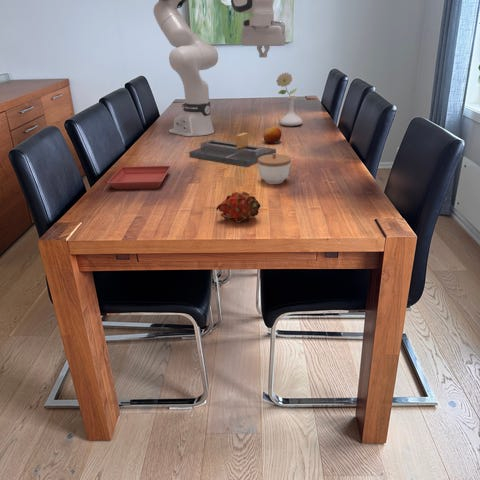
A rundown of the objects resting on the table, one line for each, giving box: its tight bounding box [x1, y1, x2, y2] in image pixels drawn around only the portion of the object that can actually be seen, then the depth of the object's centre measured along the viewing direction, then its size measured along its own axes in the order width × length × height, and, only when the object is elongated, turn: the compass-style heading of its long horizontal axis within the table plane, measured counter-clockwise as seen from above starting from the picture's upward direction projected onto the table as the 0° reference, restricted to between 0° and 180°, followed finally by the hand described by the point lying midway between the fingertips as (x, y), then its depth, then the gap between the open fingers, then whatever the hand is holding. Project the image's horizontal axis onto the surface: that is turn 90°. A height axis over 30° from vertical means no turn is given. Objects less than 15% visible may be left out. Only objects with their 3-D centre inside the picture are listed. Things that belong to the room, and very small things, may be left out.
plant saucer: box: [107, 165, 171, 190], centre depth 160 cm, size 18×18×3 cm
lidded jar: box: [257, 152, 292, 185], centre depth 155 cm, size 11×11×9 cm
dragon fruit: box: [216, 191, 261, 224], centre depth 127 cm, size 8×8×12 cm
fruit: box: [262, 126, 282, 145], centre depth 202 cm, size 8×8×8 cm
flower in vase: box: [276, 72, 303, 127], centre depth 229 cm, size 13×11×25 cm
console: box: [188, 139, 277, 168], centre depth 186 cm, size 28×20×4 cm
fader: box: [235, 132, 249, 149], centre depth 182 cm, size 2×5×7 cm, turn 145°
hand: (263, 57), depth 199 cm, fingers closed
